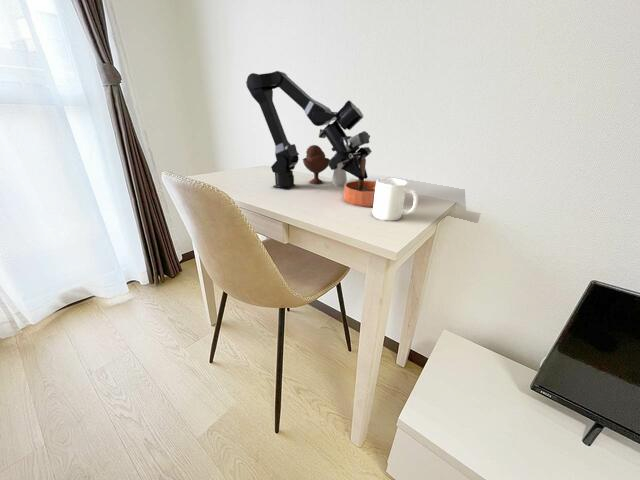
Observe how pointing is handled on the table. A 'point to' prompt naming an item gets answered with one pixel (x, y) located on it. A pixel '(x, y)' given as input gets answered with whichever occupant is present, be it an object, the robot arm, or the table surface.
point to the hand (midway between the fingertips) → (364, 178)
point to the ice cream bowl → (315, 162)
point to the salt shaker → (339, 175)
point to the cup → (392, 199)
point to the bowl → (360, 193)
